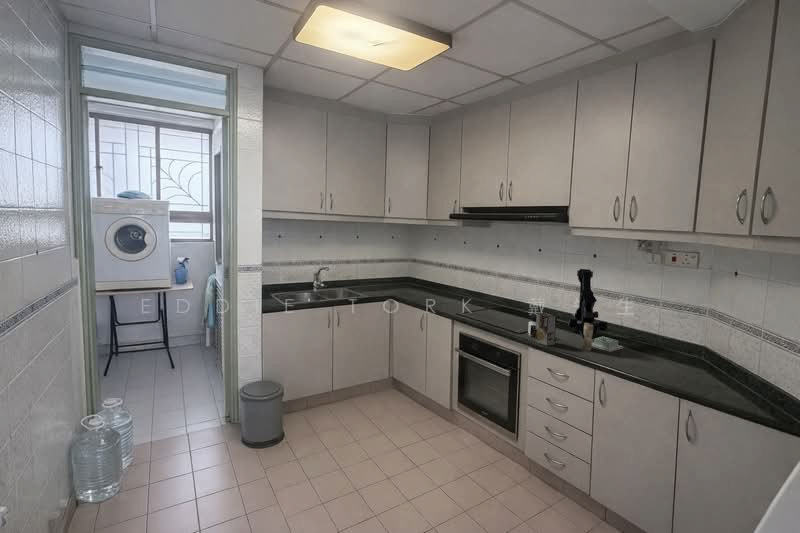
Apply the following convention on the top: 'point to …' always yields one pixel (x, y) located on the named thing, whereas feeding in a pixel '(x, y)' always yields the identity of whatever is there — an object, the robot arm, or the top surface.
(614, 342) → the socket collar
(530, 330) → the medicine bottle
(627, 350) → the top surface
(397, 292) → the top surface
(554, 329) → the coffee box
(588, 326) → the birch peg
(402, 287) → the top surface
